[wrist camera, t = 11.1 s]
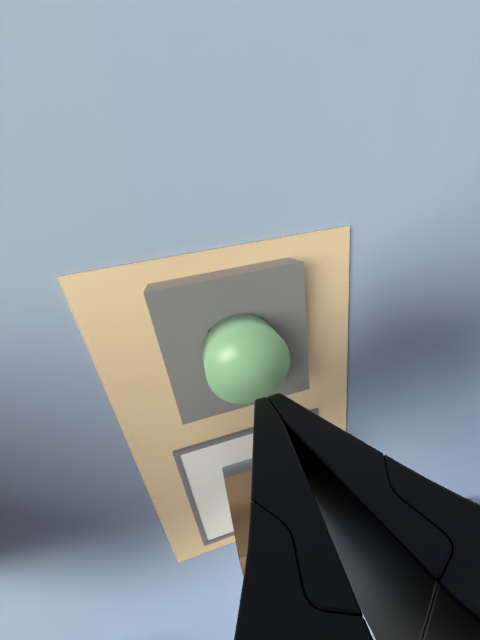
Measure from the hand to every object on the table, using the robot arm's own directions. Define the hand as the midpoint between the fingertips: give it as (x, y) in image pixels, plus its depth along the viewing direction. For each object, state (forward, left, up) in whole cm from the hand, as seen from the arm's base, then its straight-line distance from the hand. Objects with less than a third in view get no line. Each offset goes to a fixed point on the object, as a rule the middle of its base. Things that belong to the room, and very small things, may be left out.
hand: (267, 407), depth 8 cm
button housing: (0, 0, -6) cm, 6 cm away
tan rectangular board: (-7, 0, -6) cm, 9 cm away
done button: (0, 0, -6) cm, 6 cm away
